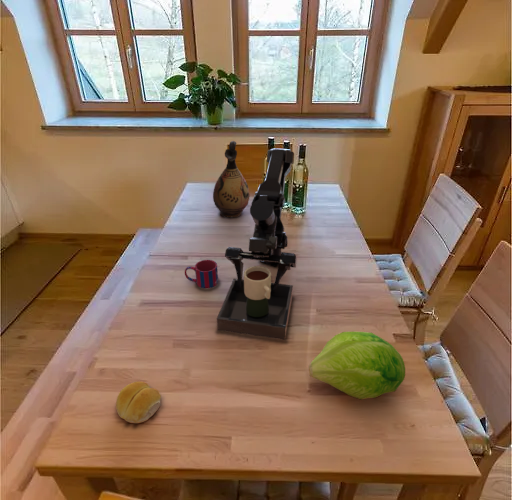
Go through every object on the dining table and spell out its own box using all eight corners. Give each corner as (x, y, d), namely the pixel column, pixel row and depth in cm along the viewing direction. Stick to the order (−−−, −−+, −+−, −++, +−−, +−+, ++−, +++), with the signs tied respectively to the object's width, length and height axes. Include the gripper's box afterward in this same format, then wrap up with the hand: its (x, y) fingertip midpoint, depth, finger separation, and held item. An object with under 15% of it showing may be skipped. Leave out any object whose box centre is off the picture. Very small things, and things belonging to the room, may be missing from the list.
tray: (234, 291, 107) (233, 278, 104) (292, 298, 104) (293, 285, 102) (217, 332, 92) (216, 318, 90) (284, 341, 89) (285, 327, 87)
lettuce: (303, 356, 85) (307, 313, 78) (386, 356, 85) (398, 313, 78) (311, 414, 72) (317, 370, 65) (410, 415, 72) (427, 370, 65)
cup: (216, 291, 107) (214, 272, 103) (183, 289, 108) (181, 270, 104) (220, 278, 113) (219, 260, 109) (189, 276, 114) (187, 258, 110)
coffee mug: (279, 317, 96) (281, 279, 89) (257, 328, 92) (257, 288, 86) (257, 296, 103) (257, 259, 97) (236, 305, 100) (234, 267, 93)
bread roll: (139, 381, 79) (135, 369, 77) (167, 401, 75) (165, 388, 73) (107, 409, 73) (103, 397, 71) (137, 432, 69) (133, 420, 67)
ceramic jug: (249, 221, 147) (248, 148, 131) (212, 220, 147) (206, 148, 131) (250, 204, 161) (249, 137, 146) (216, 204, 162) (212, 137, 146)
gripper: (224, 220, 90) (215, 280, 87) (298, 226, 87) (291, 289, 84) (233, 232, 101) (225, 286, 97) (299, 238, 98) (292, 294, 94)
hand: (256, 289), depth 93 cm, fingers open, 9 cm apart
